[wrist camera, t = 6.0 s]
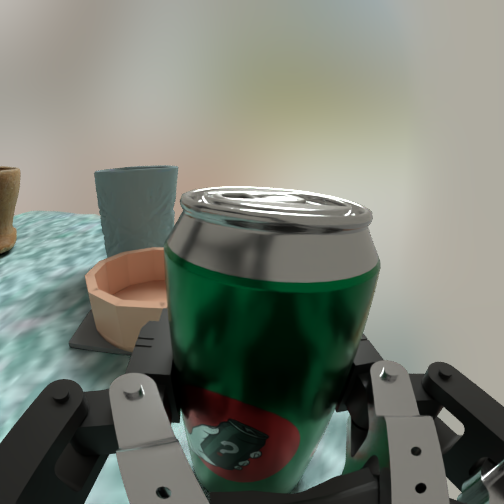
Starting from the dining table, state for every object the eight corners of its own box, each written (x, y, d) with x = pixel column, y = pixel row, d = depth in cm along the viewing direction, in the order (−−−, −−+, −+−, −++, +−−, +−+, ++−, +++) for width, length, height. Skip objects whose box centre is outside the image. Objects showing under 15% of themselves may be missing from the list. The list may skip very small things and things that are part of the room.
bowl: (74, 346, 16) (61, 300, 15) (118, 280, 27) (114, 246, 26) (231, 357, 18) (233, 309, 16) (225, 283, 28) (226, 248, 27)
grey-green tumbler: (193, 261, 35) (195, 166, 31) (133, 288, 26) (127, 169, 23) (143, 246, 39) (141, 165, 35) (87, 265, 31) (80, 171, 27)
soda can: (317, 492, 8) (436, 226, 5) (206, 517, 7) (156, 221, 3) (280, 419, 13) (318, 189, 9) (187, 434, 12) (165, 184, 8)
